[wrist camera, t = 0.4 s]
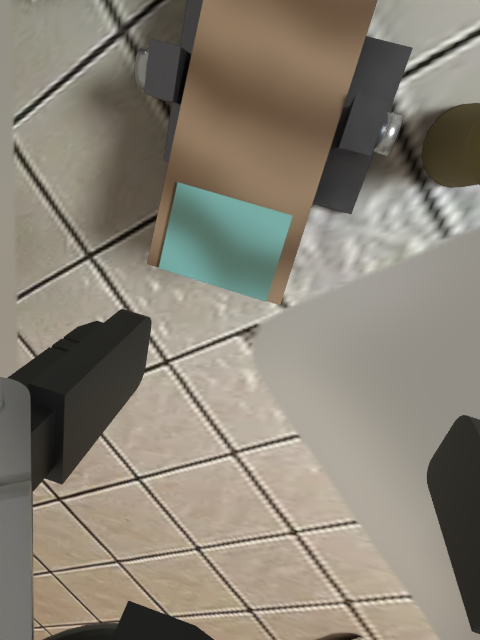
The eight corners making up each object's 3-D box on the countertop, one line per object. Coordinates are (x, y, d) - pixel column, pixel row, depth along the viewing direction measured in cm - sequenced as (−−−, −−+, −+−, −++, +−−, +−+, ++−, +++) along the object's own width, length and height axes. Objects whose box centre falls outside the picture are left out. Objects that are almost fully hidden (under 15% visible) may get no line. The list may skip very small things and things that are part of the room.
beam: (244, -152, 22) (240, -184, 21) (413, -115, 22) (423, -145, 20) (154, 261, 29) (145, 264, 27) (281, 300, 28) (279, 305, 27)
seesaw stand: (190, -4, 30) (141, -62, 22) (412, 52, 28) (447, 12, 20) (166, 159, 35) (119, 161, 27) (352, 213, 34) (361, 232, 25)
